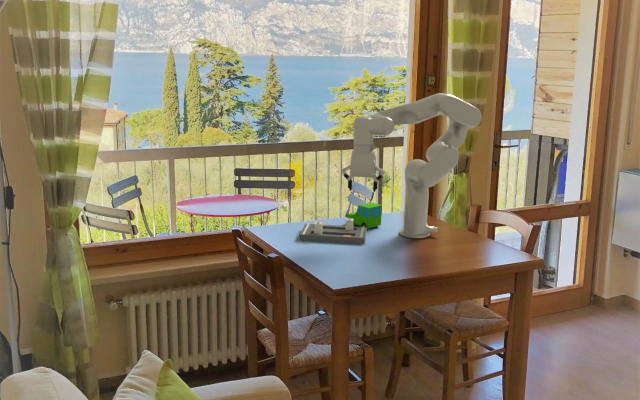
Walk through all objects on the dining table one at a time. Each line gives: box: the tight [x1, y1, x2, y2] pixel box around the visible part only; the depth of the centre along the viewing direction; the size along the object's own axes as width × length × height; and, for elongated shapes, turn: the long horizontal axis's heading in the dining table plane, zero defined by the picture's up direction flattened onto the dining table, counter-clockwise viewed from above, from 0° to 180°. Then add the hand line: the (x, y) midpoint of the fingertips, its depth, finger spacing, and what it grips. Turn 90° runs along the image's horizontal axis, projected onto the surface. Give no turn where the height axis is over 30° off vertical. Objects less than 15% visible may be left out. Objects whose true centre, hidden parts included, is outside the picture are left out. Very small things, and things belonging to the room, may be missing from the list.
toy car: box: [346, 202, 383, 230], centre depth 277 cm, size 10×13×10 cm
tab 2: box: [345, 217, 354, 230], centre depth 263 cm, size 3×3×5 cm
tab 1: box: [313, 221, 323, 234], centre depth 257 cm, size 3×3×5 cm
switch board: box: [298, 222, 368, 245], centre depth 261 cm, size 26×16×3 cm, turn 83°
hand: (362, 190), depth 255 cm, fingers open, 9 cm apart
